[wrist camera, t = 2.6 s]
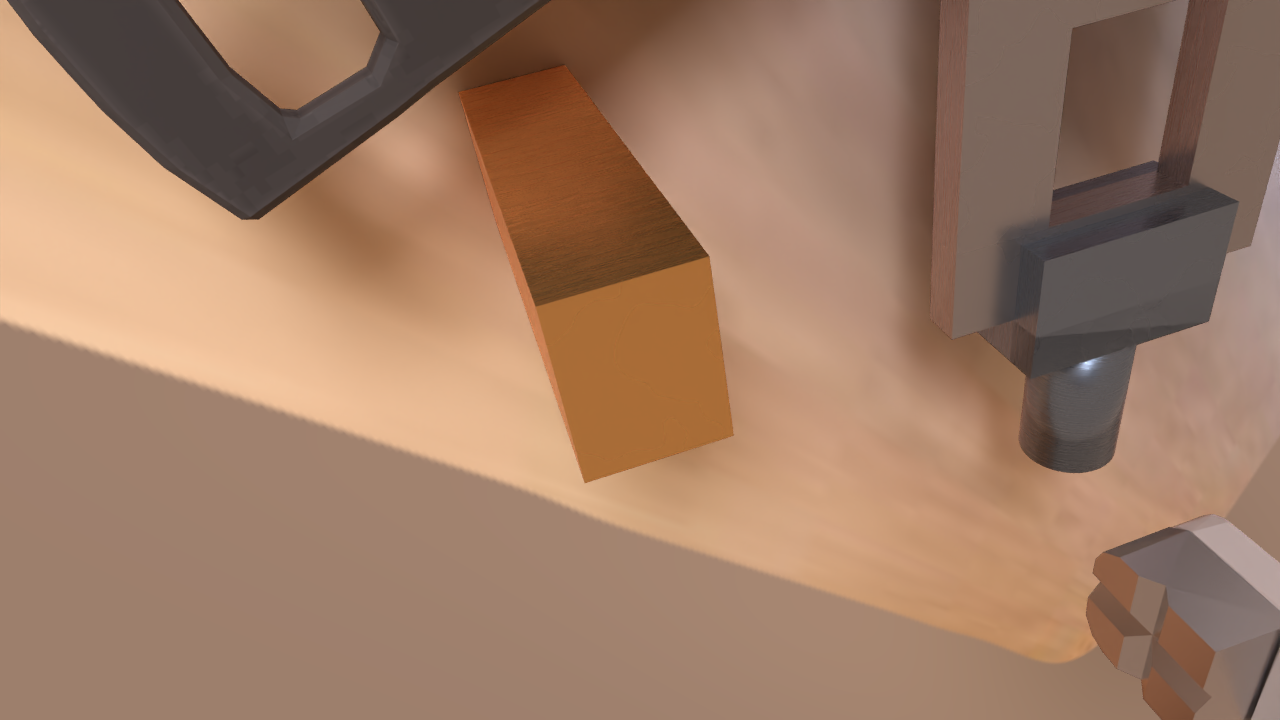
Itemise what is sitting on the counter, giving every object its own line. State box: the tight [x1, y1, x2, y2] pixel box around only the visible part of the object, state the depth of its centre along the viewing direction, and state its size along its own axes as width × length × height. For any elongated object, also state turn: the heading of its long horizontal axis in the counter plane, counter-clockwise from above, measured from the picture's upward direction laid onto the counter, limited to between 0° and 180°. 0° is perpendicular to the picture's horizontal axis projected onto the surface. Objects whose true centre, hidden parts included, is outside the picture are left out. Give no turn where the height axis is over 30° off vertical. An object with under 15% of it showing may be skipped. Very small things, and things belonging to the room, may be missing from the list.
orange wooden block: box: [458, 65, 734, 483], centre depth 21 cm, size 4×3×12 cm
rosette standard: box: [930, 0, 1280, 473], centre depth 21 cm, size 23×10×18 cm, turn 9°
